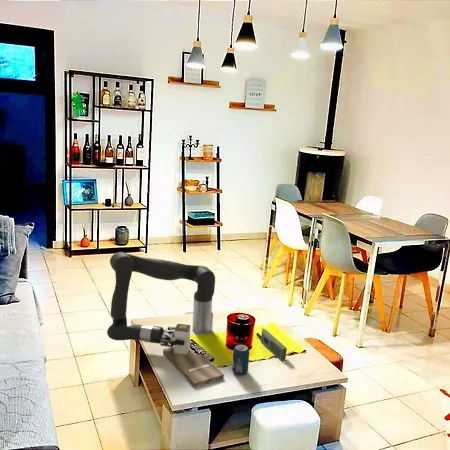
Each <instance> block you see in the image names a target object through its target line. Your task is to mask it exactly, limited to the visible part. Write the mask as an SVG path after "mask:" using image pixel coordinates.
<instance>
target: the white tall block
mask: <svg viewBox="0 0 450 450" xmlns="http://www.w3.org/2000/svg"><path fill="white" fill-rule="evenodd" d="M175 327H176V328H175V337H174V339H177V340H184V341H185V342H184V345H174V346H173V347H174V353H180V354H187V353H188V351H189V347H190V343H191V342H190V341H191V325H190V324H183V323H177V324H176V326H175Z"/></svg>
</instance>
